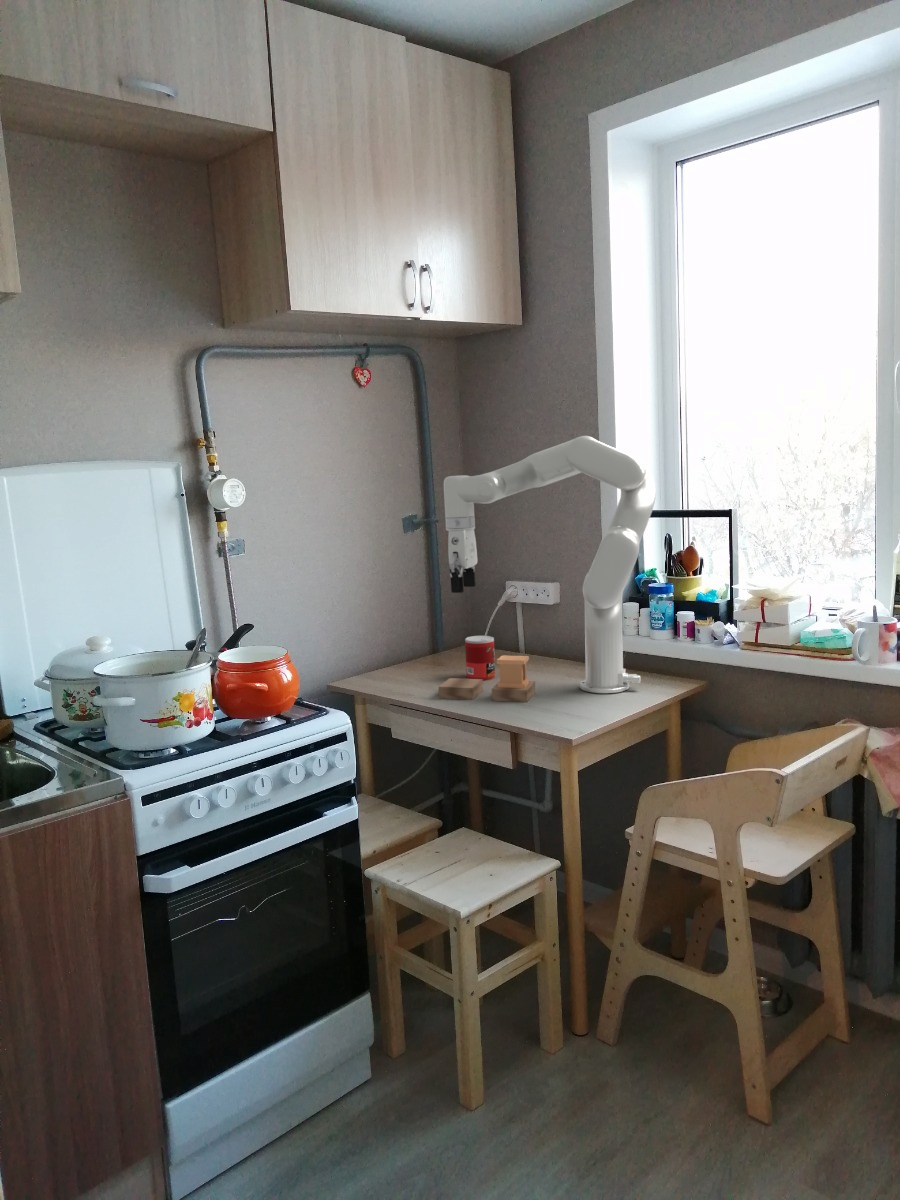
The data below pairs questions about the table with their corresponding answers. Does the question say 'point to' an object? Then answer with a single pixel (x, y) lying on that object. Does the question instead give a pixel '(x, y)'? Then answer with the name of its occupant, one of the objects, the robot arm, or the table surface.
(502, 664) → the housing
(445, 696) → the stand
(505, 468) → the robot arm
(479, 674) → the canned food
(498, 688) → the stand
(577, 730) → the table surface
